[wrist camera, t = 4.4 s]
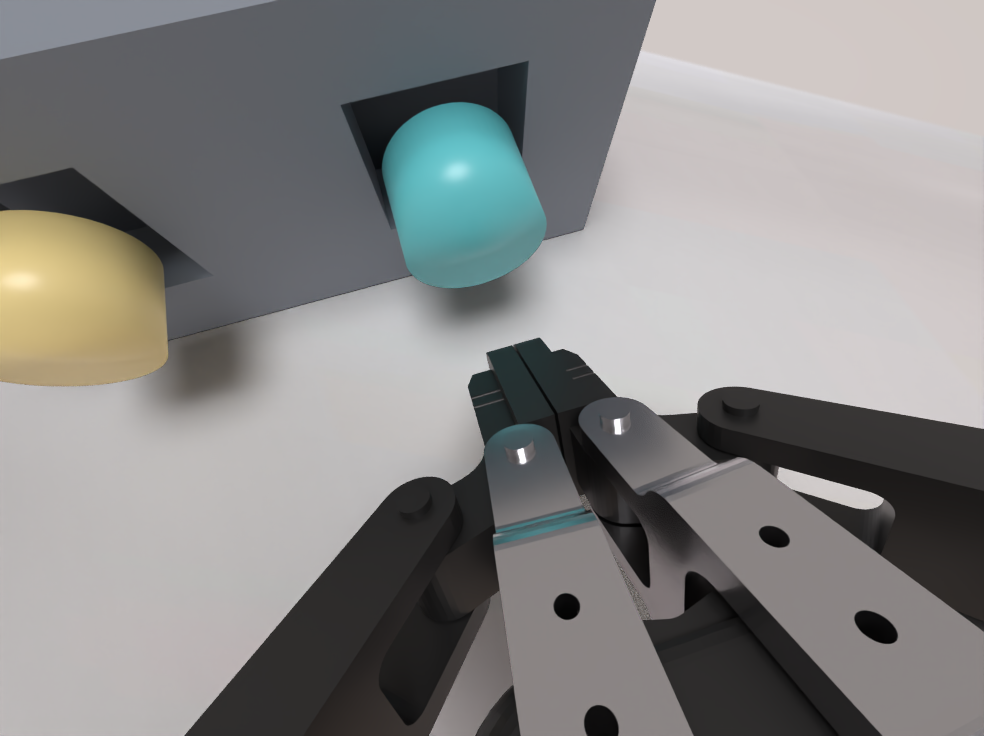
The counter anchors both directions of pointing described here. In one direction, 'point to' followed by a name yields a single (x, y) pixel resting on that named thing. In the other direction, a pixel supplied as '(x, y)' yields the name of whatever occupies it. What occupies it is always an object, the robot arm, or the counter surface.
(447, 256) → the teal button
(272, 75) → the console
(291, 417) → the counter surface
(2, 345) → the mustard button
